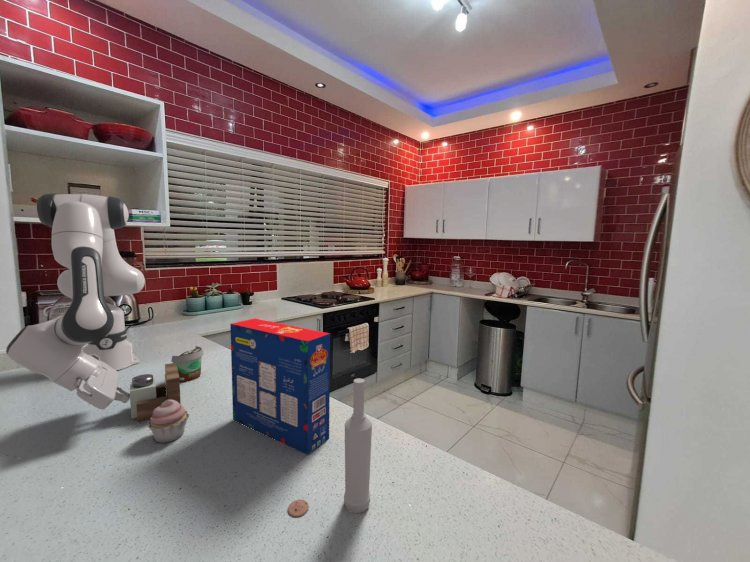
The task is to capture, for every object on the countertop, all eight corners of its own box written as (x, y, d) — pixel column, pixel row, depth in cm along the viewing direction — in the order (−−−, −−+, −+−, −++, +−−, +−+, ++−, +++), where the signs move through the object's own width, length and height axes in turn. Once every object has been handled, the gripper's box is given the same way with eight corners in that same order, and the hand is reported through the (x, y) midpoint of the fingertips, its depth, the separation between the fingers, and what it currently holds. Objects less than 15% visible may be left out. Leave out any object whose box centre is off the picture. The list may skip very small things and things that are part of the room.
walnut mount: (134, 404, 101) (132, 369, 100) (177, 395, 107) (175, 362, 106) (133, 425, 90) (130, 386, 88) (181, 414, 96) (179, 377, 95)
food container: (187, 385, 115) (186, 357, 113) (172, 383, 116) (170, 356, 115) (211, 372, 127) (210, 346, 125) (197, 370, 128) (196, 345, 127)
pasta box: (329, 438, 86) (329, 333, 82) (307, 455, 79) (307, 341, 76) (256, 409, 100) (254, 318, 97) (233, 420, 93) (230, 323, 90)
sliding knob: (132, 408, 98) (130, 375, 97) (156, 402, 101) (154, 371, 100) (131, 418, 92) (129, 384, 91) (157, 412, 96) (155, 379, 94)
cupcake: (145, 451, 79) (142, 411, 78) (150, 431, 87) (148, 395, 86) (190, 441, 83) (188, 403, 82) (191, 423, 91) (189, 388, 90)
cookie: (309, 500, 65) (309, 495, 65) (308, 517, 61) (308, 512, 61) (289, 502, 65) (289, 497, 65) (286, 519, 61) (286, 514, 61)
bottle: (343, 494, 67) (345, 375, 64) (369, 492, 67) (371, 374, 64) (343, 514, 62) (345, 386, 59) (371, 513, 62) (374, 386, 59)
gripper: (84, 376, 80) (136, 404, 87) (95, 352, 97) (138, 377, 103) (60, 398, 78) (115, 425, 85) (76, 370, 95) (121, 394, 101)
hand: (128, 399), depth 94 cm, fingers closed, pressing on sliding knob
